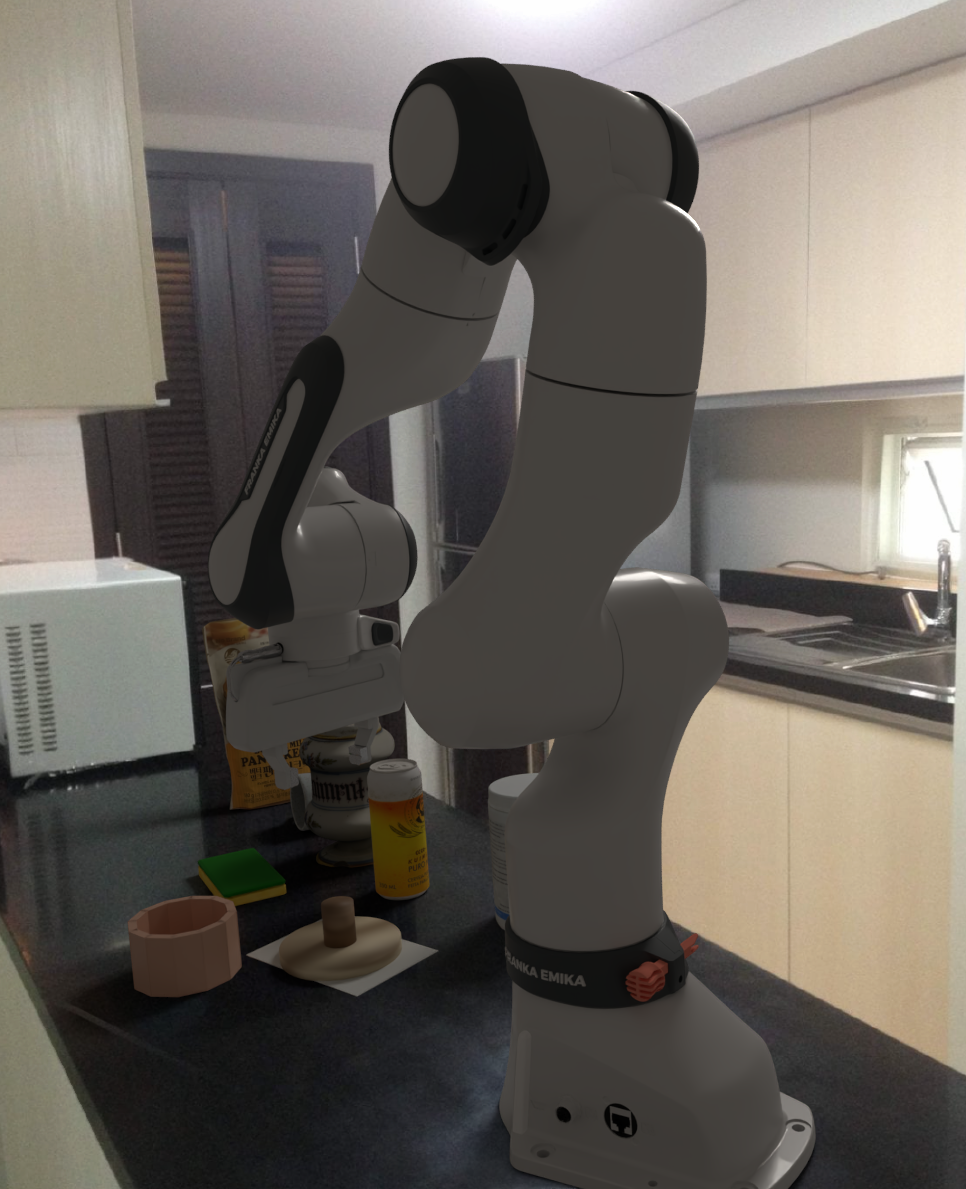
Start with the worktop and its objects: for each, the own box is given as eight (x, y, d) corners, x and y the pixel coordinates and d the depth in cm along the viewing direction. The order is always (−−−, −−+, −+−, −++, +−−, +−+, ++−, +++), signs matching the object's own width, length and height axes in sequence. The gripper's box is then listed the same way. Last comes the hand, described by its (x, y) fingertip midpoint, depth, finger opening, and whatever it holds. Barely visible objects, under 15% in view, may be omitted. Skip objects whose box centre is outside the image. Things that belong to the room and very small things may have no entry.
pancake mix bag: (213, 805, 162) (195, 620, 159) (332, 781, 171) (318, 606, 168) (225, 816, 156) (207, 624, 153) (348, 791, 165) (333, 609, 162)
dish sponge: (226, 915, 121) (224, 894, 121) (198, 878, 133) (196, 859, 133) (287, 899, 124) (285, 879, 124) (255, 865, 136) (253, 846, 136)
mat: (438, 954, 106) (438, 950, 106) (357, 1000, 98) (357, 996, 98) (328, 919, 117) (328, 916, 117) (246, 958, 108) (246, 954, 108)
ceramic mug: (364, 825, 148) (360, 770, 148) (307, 837, 145) (302, 781, 144) (338, 807, 158) (333, 756, 157) (284, 819, 154) (279, 766, 153)
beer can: (422, 905, 119) (412, 772, 117) (369, 904, 120) (359, 772, 119) (435, 884, 125) (426, 757, 123) (385, 883, 126) (375, 757, 124)
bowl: (262, 967, 106) (256, 908, 105) (174, 1010, 98) (167, 947, 98) (200, 944, 112) (195, 888, 112) (113, 982, 105) (107, 923, 104)
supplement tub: (581, 943, 107) (573, 798, 105) (487, 940, 109) (477, 798, 107) (591, 904, 116) (584, 770, 115) (504, 902, 118) (496, 771, 117)
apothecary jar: (295, 874, 131) (282, 729, 129) (323, 840, 143) (312, 706, 141) (392, 873, 129) (381, 725, 127) (412, 839, 141) (402, 703, 139)
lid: (426, 944, 108) (423, 894, 107) (337, 993, 99) (333, 938, 98) (344, 918, 116) (340, 871, 115) (254, 961, 107) (250, 911, 106)
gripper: (247, 656, 95) (259, 809, 97) (411, 622, 110) (419, 754, 112) (205, 651, 99) (217, 797, 101) (368, 619, 114) (377, 746, 116)
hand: (325, 774), depth 107 cm, fingers open, 8 cm apart
